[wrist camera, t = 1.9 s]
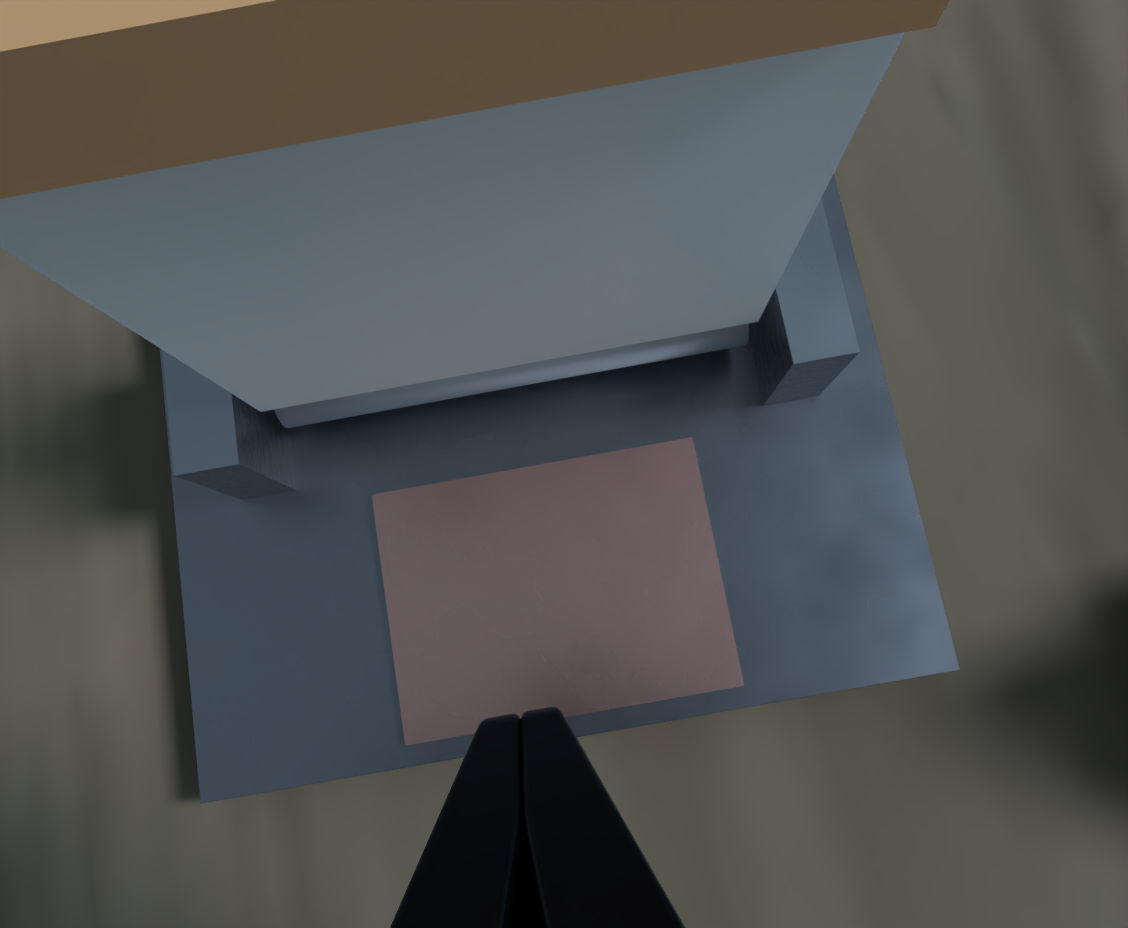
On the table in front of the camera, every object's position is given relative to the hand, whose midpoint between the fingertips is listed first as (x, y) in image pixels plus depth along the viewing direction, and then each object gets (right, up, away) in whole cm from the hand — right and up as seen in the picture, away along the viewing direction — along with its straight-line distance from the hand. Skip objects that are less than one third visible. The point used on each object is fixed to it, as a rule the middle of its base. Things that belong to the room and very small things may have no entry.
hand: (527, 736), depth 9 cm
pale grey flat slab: (-1, +5, +11) cm, 13 cm away
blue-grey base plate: (-1, +5, +14) cm, 15 cm away
